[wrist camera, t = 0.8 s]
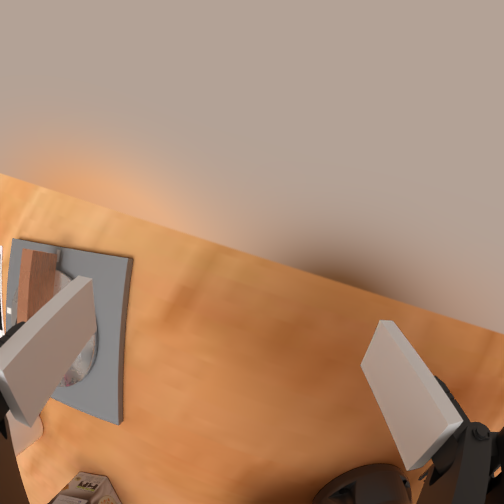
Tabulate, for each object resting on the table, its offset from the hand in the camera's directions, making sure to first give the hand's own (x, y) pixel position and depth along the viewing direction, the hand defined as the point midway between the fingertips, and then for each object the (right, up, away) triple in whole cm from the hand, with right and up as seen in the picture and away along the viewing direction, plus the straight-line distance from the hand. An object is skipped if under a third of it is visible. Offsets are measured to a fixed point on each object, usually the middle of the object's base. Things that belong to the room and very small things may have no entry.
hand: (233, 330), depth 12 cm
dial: (-26, -6, +19) cm, 33 cm away
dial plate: (-26, -7, +21) cm, 34 cm away
